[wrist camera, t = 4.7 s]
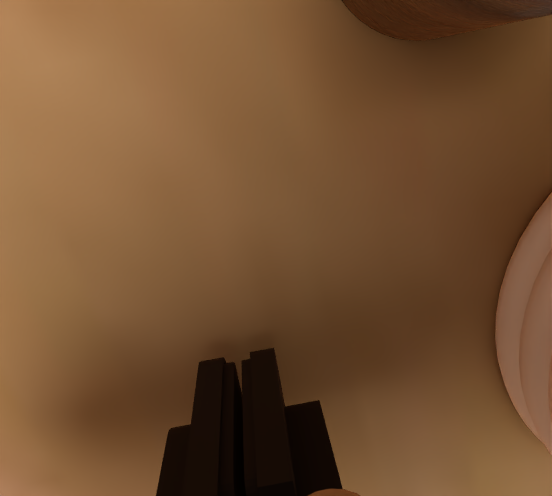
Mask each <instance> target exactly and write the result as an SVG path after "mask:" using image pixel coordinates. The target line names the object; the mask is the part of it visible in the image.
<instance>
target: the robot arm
mask: <svg viewBox="0 0 552 496" xmlns="http://www.w3.org/2000/svg"><path fill="white" fill-rule="evenodd" d="M156 496H360V495H358V494H357V493H354V492H351V491H348V490H345V489H342V485H341V481H340V477H339V473H338V470H337V466H336V462H335V458H334V454H333V451H332V447H331V443H330V439H329V435H328V432H327V428H326V424H325V420H324V416H323V413H322V409H321V405H320V402H319V400H318V401H313V402H307V403H302V404H297V405H291V406H286V407H285V403H284V398H283V393H282V387H281V382H280V377H279V371H278V366H277V361H276V356H275V350H274V348H271V349H266V350H260V351H255V352H250V359H248V360H242V392H241V388H240V383H239V379H238V374H237V369H236V365H235V363H234V362H231V363H226V361H225V358H224V357H223V358H217V359H212V360H206V361H201V362H199V366H198V373H197V381H196V389H195V397H194V404H193V412H192V420H191V424H190V425H185V426H180V427H174V428H171V429H170V430H169V432H168V436H167V441H166V446H165V451H164V457H163V462H162V467H161V472H160V478H159V483H158V488H157V493H156Z"/></svg>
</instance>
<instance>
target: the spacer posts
mask: <svg viewBox="0 0 552 496" xmlns="http://www.w3.org/2000/svg"><path fill="white" fill-rule="evenodd" d="M342 1H343V2H344V4H345V5H346V6H347V7H348V9H349V10H350V11H351V12H352V13H353V14H354V15H355V16H356V17H357V18H358V19H359V20H361V21H362V22H363V23H365V24H366V25H368V26H369V27H370V28H372V29H374V30H376V31H378V32H380V33H382V34H385V35H388V36H390V37H393V38H398V39H403V40H415V41H421V40H431V39H436V38H441V37H446V36H451V35H455V34H460V33H465V32H470V31H475V30H479V29H484V28H489V27H494V26H499V25H503V24H508V23H513V22H518V21H523V20H527V19H532V18H537V17H542V16H546V15H551V14H552V0H342Z"/></svg>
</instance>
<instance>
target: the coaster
mask: <svg viewBox="0 0 552 496" xmlns="http://www.w3.org/2000/svg"><path fill="white" fill-rule="evenodd" d="M495 341H496V350H497V359H498V363H499V366H500V370H501V374H502V378H503V381H504V384H505V387H506V389H507V392H508V394H509V396H510V398H511V401H512V403H513V405H514V407H515V409H516V410H517V412H518V414H519V415H520V417H521V418H522V420H523V422H524V423H525V424H526V426H527V427H528V428H529V429H530V430H531V431H532V432H533V434H534V435H535V436H536V437H537V438H538V439H539V440H540V441H542V442H543V443H544V445H545V446H546V448H547V450H548V451H549V453H550V454H551V455H552V192H551V194H550V195H549V196H548V198H547V199H546V200H545V202H544V203H543V204H542V205H541V207H540V208H539V209H538V211H537V212H536V213H535V215H534V216H533V218H532V220H531V221H530V223H529V225H528V226H527V228H526V229H525V231H524V233H523V234H522V236H521V238H520V239H519V241H518V244H517V246H516V248H515V250H514V253H513V255H512V257H511V259H510V261H509V264H508V266H507V269H506V273H505V276H504V279H503V283H502V286H501V289H500V294H499V300H498V306H497V311H496V328H495Z"/></svg>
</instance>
